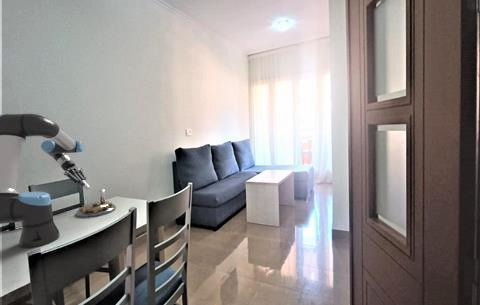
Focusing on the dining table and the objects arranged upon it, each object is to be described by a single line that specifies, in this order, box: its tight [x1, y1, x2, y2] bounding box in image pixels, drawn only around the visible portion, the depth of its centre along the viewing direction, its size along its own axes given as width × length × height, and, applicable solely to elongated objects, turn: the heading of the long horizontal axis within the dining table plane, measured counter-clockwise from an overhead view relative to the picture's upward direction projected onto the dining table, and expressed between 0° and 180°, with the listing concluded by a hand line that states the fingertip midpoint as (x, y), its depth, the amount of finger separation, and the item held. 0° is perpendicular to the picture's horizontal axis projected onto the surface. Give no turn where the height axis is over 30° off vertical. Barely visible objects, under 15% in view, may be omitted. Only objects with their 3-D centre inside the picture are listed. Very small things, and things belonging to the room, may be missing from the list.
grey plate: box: [75, 203, 117, 219], centre depth 162 cm, size 22×22×2 cm
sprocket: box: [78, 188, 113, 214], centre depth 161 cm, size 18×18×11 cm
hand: (88, 188), depth 170 cm, fingers closed
